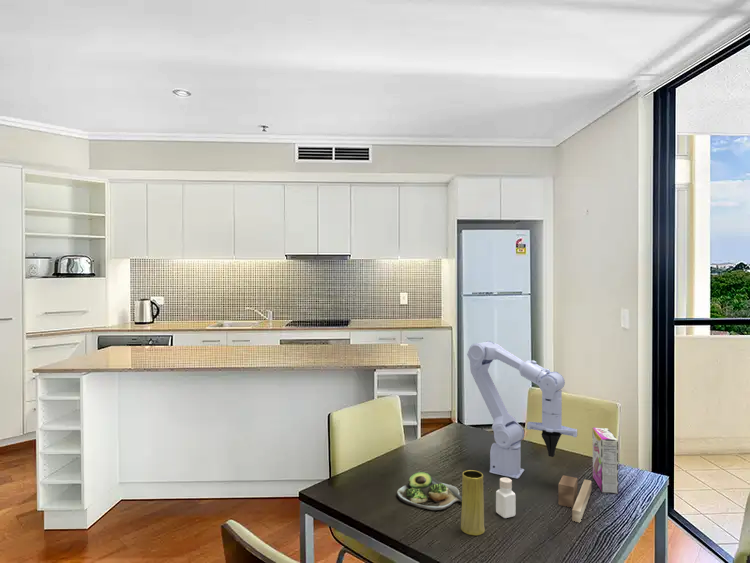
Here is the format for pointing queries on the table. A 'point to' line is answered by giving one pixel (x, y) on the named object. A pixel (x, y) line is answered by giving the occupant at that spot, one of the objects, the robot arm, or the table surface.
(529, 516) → the table surface
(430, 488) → the salad plate
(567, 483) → the walnut block
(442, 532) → the table surface
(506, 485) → the pepper shaker
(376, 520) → the table surface
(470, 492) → the vase
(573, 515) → the maple board
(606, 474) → the candy bar box
